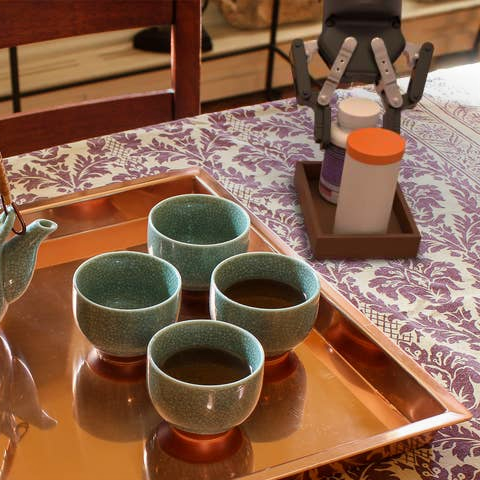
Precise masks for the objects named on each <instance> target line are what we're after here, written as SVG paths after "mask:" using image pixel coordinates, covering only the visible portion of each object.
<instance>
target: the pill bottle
mask: <svg viewBox="0 0 480 480" xmlns="http://www.w3.org/2000/svg"><path fill="white" fill-rule="evenodd" d="M381 110H382V108H381V105H380V104H379V103H378V102H376V101H375V100H373V99H369V98H366V97H358V96H357V97H356V96H355V97H354V96H353V97H347V98H344V99H342V100H341V101H340V102H339V103H338V107H337V112H336V119H335V120H333V121H331V132H330V145H329V147H328V149H327V150H323V156H322V157H323V158H322V161H323V163H322V170H321V176H320V183H319V192H320V194H321V196H322V197H323V198H324V199H325V200H327V201H329V202H331V203H333V204H337V203H338V197H339V191H340V185H341V179H342V173H343V167H344V161H345V154H346V141H347V137H348V135H349V134H350V133H351V132H353V131H355V130H358V129H362V128H381V126H380V125H379V121H380V117H381Z"/></svg>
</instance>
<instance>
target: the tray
mask: <svg viewBox="0 0 480 480" xmlns="http://www.w3.org/2000/svg"><path fill="white" fill-rule="evenodd" d="M322 163H323V160H296V161H295V167H294V176H293V185H294V189H295V193H296V196H297V200H298V204H299V208H300V212H301V215H302V219H303V223H304V227H305V231H306V235H307V239H308V242H309V246H310V249H311V253H312V257H313V260H320V261H321V260H323V261H324V260H409V259H410V260H412V259H413V260H414V259H415V260H416V259H417V258H418V254H419V249H420V246H421V242H422V241H421V240H422V235H421V232H420V230H419V228H418V225H417V223H416V220H415V218H414V215H413V213H412V211H411V209H410V206H409V203H408V201H407V199H406V197H405V194H404V192H403V189H402V187H401V185H400V183H399V179H398V180H397V185H396V189H395V194H394V199H393V204H392V208H391V213H390V218H389V223H388V228H387V232H386V234H333V228H334V221H335V215H336V209H337V204H333V203H331V202H329V201H327V200H325V199H324V198H323V197H322V196H321V194H320V192H319V183H320V176H321V170H322Z"/></svg>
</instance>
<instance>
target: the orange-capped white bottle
mask: <svg viewBox="0 0 480 480" xmlns="http://www.w3.org/2000/svg"><path fill="white" fill-rule="evenodd" d="M406 147H407V143H406V140H405V138H404V137H403V136H402V135H401V134H400V135H399V134H397V133H395V132H393V131H390V130H386V129H382V127H380V128H362V129H358V130H355V131H353V132H351V133H350V134H349V135H348V137H347V141H346V154H345V161H344V167H343V173H342V179H341V185H340V191H339V197H338V203H337V209H336V215H335V221H334V228H333V234H386V232H387V228H388V223H389V218H390V213H391V208H392V204H393V199H394V194H395V189H396V185H397V180H398V181H399V175H400V170H401V165H402V160H403V158H404V157H405V151H406Z"/></svg>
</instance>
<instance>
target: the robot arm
mask: <svg viewBox="0 0 480 480" xmlns="http://www.w3.org/2000/svg"><path fill="white" fill-rule="evenodd" d="M402 14H403V0H322V20H321V21H322V23H321V31H320V33H319V35H318V37H317V39H311V40H307V41H306V40H305V41H304V40H303V39H302V38H299V37H298V38H294V39H293V40H292V42H291V45H290V48H289V52H288V58H289V64H290V69H291V76H292V77H291V78H292V81H293V88H294V95H295V96H294V97H295V101H296V104H297V105H298V106H299V107H306V108H310V109H311V110H312V111H313V115H314V117H313V118H314V119H313V136H312V137H313V138H312V139H313V141H314V144H319V150H323V151H324V150H327V149H328V147H329V145H330V132H331V123H332V111H333V110H332V109H333V108H332V106H330V102H331V100H332V98H333V96H334V93H335V92H336V90H337V87H338V86H339V83H341V84H351V83H357V82H358V83H362V84H365V85H373V87H374V89H375V92H376V95H377V96H378V97H379V99H380V101H381V103H382V106H383V109H384V113H383V115H382V122H381V129H386V130H390V131H393V132H395V133H397V134H399V135H400V136H401V124H402V112H404V111H406V110H410V111H412V110H414V109H415V108H416V107H417V106H418V103H420V101H421V100H422V98H423V96H424V92H425V88H426V84H427V79H428V75H429V72H430V67H431V63H432V60H433V55H434V51H435V46H434V44H433V43H432V42H430V41H426V42H424V43H423V44H418V43H413V42H410V41H407V39H406V37H405V35H404V33H403V30H402V19H403V18H402ZM316 53H317V54H318V55H319V57H320V59H321V60H322V62H323V63H324V64H325V66H326V67H327V68H328V70H329V72H328V75H327V76H326V80H325V81H324V84H323V86H322V88H321V90H320V92H319V91H315V90H313V89H312V83H311V78H310V72H309V65H311V63H312V61H313V58H314V54H316ZM401 55H403V56H404V57H405V58H406V65H407V67H408V68H410V69H411V73H410V76H409V79H408V83H407V84H408V85H407V88H406V92H405V93H404V94H401V91H400V88H399V86H398V83H397V81H398V80H397V79H398V78H397V75H396V73H395V70H394V68H393V66H394V64H395V63H396V61H398V59H399V58H400V57H401Z"/></svg>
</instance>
